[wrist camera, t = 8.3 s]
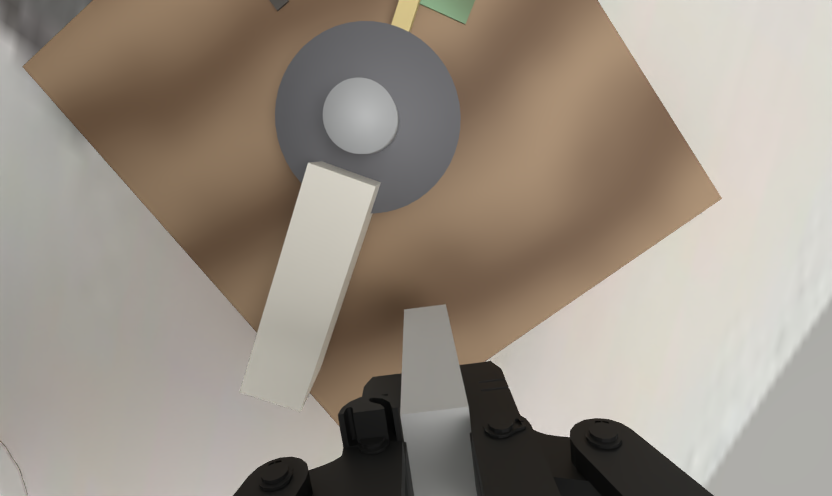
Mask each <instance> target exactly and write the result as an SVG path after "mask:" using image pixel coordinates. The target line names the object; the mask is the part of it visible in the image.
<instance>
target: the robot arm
mask: <svg viewBox="0 0 832 496" xmlns="http://www.w3.org/2000/svg"><path fill="white" fill-rule="evenodd" d="M338 420H339V425H340V431H341V436H342V442H343V447H344V448H343V453H342V456H341V457H339V458H338V459H336V460H334V461H333V462H330V463H328V464H326V465H323V466H320V467H317V468H314V469H312V470H309V471H308V466H307V463H305V462H304V461H303V460H302V459H300V458H295V457H283V458H278V459H275V460H272V461H269V462H267V463H265V464H264V465H262V466H260V467H258V468H257V469H256V470H255V471H254V472H253V473H252V474H251V475H249V476H248V478H247V479H246V480H245V481H244V483H243V484H242V485H241V486H240V488H239V489H238V490H237V491H236V493H235V494H234V495H233V496H713V495H712V494H711V493H710V492H708V491H707V490H706V489H705V488H703V487H702V486H701V485H700V484H699V483H697V482H696V481H695V480H694V479H692V478H691V477H690V476H689V475H687V474H686V473H685V472H684V471H682V470H681V469H680V468H679V467H677V466H676V465H675V464H674V463H673V462H671V461H670V460H669V459H668V458H666V457H665V456H664V455H663V454H661V453H660V452H659V451H658V450H656V449H655V448H654V447H653V446H651V445H650V444H649V443H648V442H647V441H645V440H644V439H643V438H642V437H640V436H639V435H638V434H637V433H635V432H634V431H633V430H632V429H630V428H628V427H627V426H625V425H623V424H622V423H619V422H616V421H612V420H609V419H598V418H595V419H588V420H583V421H581V422H579V423H577V424H575V425H574V427H573V428H572V429H571V430H570V437H560V436H552V435H546V434H543V433H540V432H537V431H535V430H533V429H532V426H531V424H530V423H529V422H528V421H527V419H526V418H524V417H522V416H520V414H519V412H518V409H517V407H516V404H515V402H514V399H513V397H512V394H511V392H510V389H509V388H508V385H507V382H506V380H505V377H504V375H503V372H502V370H501V368H499V367H498V366H497V365H495V364H494V363H492V362H491V361H488V362H480V363H472V364H463V365H459V361H458V357H457V352H456V348H455V343H454V339H453V335H452V330H451V326H450V321H449V317H448V312H447V308H446V304H444V305H436V306H428V307H420V308H412V309H404V327H403V354H402V373H400V374H392V375H384V376H375V377H372V378H371V379H370V380H369V381H368V382H367V384H366V385H365V386H364V388H363V393H362V397H359V398H357V399H355V400H352V401H350V402H348V403H347V404H346V405H345V406H343V407H342V408H341V410H340V411H339V413H338Z"/></svg>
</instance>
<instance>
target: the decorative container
mask: <svg viewBox="0 0 832 496" xmlns="http://www.w3.org/2000/svg"><path fill="white" fill-rule="evenodd" d="M0 496H27V491H26V488H25V485H24V482H23V479H22V476H21V473H20V469H19V468H18V466H17V465H16V463H15V461H14V460H13V458H12V457H11V455H10V454H9V452H8V450H7V449H6V447H5V446H4V445H3V444H2V443H1V442H0Z"/></svg>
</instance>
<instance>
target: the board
mask: <svg viewBox="0 0 832 496" xmlns="http://www.w3.org/2000/svg"><path fill="white" fill-rule="evenodd" d="M398 2H399V0H93V1H91V2H90V3H89V4H88V5H87V6H86V7H85V8H84V9H83V10H82V11H81V12H80V13H79V14H78V15H77V16H76V17H74V18H73V19H72V20H71V21H70V22H69V23H68V24H67V25H66V26H65V27H64V28H63V29H62V30H61V31H60V32H59V33H58V34H56V35H55V36H54V37H53V38H52V39H51V40H50V41H49V42H48V43H47V44H46V45H45V46H44V47H43V48H42V49H41V50H39V51H38V52H37V53H36V54H35V55H34V56H33V57H32V58H31V59H30V60H29V61H28V62H27V63H26V64H25V65H24V66H23V68H24V69H25V70H26V71H27V72H28V74H29V75H30V76H31V77H32V78H33V79H34V80H35V81H36V83H37V84H38V85H39V86H40V87H41V88H42V89H43V91H44V92H45V93H46V94H47V95H48V96H49V97H50V98H51V100H52V101H53V102H54V103H55V104H56V105H57V106H58V108H59V109H60V110H61V111H62V112H63V113H64V114H65V115H66V117H67V118H68V119H69V120H70V121H71V122H72V123H73V125H74V126H75V127H76V128H77V129H78V130H79V131H80V133H81V134H82V135H83V136H84V137H85V138H86V139H87V140H88V142H89V143H90V144H91V145H92V146H93V147H94V148H95V150H96V151H97V152H98V153H99V154H100V155H101V156H102V157H103V159H104V160H105V161H106V162H107V163H108V164H109V165H110V167H111V168H112V169H113V170H114V171H115V172H116V173H117V174H118V176H119V177H120V178H121V179H122V180H123V181H124V182H125V184H126V185H127V186H128V187H129V188H130V189H131V190H132V191H133V193H134V194H135V195H136V196H137V197H138V198H139V199H140V201H141V202H142V203H143V204H144V205H145V206H146V207H147V208H148V210H149V211H150V212H151V213H152V214H153V215H154V216H155V218H156V219H157V220H158V221H159V222H160V223H161V224H162V226H163V227H164V228H165V229H166V230H167V231H168V232H169V233H170V235H171V236H172V237H173V238H174V239H175V240H176V241H177V243H178V244H179V245H180V246H181V247H182V248H183V249H184V250H185V252H186V253H187V254H188V255H189V256H190V257H191V258H192V260H193V261H194V262H195V263H196V264H197V265H198V266H199V267H200V269H201V270H202V271H203V272H204V273H205V274H206V275H207V277H208V278H209V279H210V280H211V281H212V282H213V283H214V284H215V286H216V287H217V288H218V289H219V290H220V291H221V292H222V294H223V295H224V296H225V297H226V298H227V299H228V300H229V302H230V303H231V304H232V305H233V306H234V307H235V308H236V309H237V311H238V312H239V313H240V314H241V315H242V316H243V317H244V319H245V320H246V321H247V322H248V323H249V324H250V325H251V326H252V328H253V329H254V330H255V331H256V332H258V328H259V325H260V322H261V318H262V315H263V312H264V308H265V305H266V301H267V298H268V295H269V291H270V288H271V285H272V281H273V278H274V275H275V271H276V268H277V265H278V261H279V258H280V255H281V251H282V248H283V245H284V241H285V238H286V235H287V231H288V228H289V225H290V221H291V218H292V215H293V211H294V208H295V205H296V201H297V198H298V195H299V191H300V188H301V184H302V183H301V182H300V181H299V180H298V178H297V177H296V176H295V175H294V173H293V172H292V170H291V169H290V167H289V165H288V164H287V162H286V160H285V158H284V156H283V153H282V151H281V148H280V145H279V141H278V138H277V132H276V126H275V106H276V98H277V93H278V89H279V86H280V83H281V80H282V77H283V75H284V73H285V71H286V69H287V67H288V65H289V64H290V62H291V61H292V59H293V58H294V57H295V55H296V54H297V53H298V52H299V51H300V50H301V48H302V47H303V46H304V45H306V44H307V43H308V42H309V41H310V40H312V39H313V38H314V37H316V36H317V35H319V34H320V33H322V32H324V31H326V30H328V29H330V28H333V27H335V26H338V25H341V24H345V23H349V22H357V21H375V22H382V23H387V24H390V25H391V24H392V21H393V17H394V14H395V11H396V8H397V5H398ZM410 33H412V34H413V35H415V36H417V37H418V38H420V39H421V40H422V41H423V42H425V43H426V44H427V45H428V46H429V47H430V48H431V49H432V50H433V51H434V52H435V53H436V54H437V55H438V56H439V58H440V59H441V61H442V62H443V63H444V65H445V66H446V68H447V70H448V72H449V74H450V76H451V77H452V80H453V82H454V85H455V88H456V91H457V95H458V99H459V104H460V115H461V121H460V133H459V140H458V144H457V147H456V151H455V154H454V156H453V158H452V160H451V163H450V165H449V166H448V168H447V170H446V171H445V173H444V175H443V176H442V177H441V178H440V180H439V181H438V182H437V184H436V185H435V186H434V187H433V188H431V189H430V190H429V191H428V192H427V193H426V194H425V195H423V196H422V197H421V198H419V199H418V200H416V201H414V202H412V203H411V204H409V205H407V206H404V207H402V208H399V209H396V210H392V211H388V212H383V213H373V214H372V217H371V220H370V223H369V226H368V229H367V232H366V235H365V238H364V241H363V244H362V247H361V250H360V253H359V256H358V259H357V262H356V264H355V267H354V270H353V273H352V276H351V279H350V282H349V285H348V288H347V291H346V294H345V297H344V300H343V303H342V306H341V309H340V312H339V315H338V318H337V321H336V324H335V327H334V330H333V333H332V336H331V339H330V342H329V345H328V348H327V351H326V354H325V357H324V360H323V363H322V366H321V369H320V371H319V373H318V375H317V377H316V380H315V382H314V384H313V386H312V388H311V390H310V393H311V395H312V396H313V397H314V398H315V399H316V400H317V401H318V402H319V404H320V405H321V406H322V407H323V408H324V409H325V410H326V412H327V413H328V414H329V415H330V416H331V417H332V418H333V419H334V421H335V422H336V423H337V424H338V425H339V420H338V413H339V411H340V410H341V408H342V407H343V406H345V405H346V404H347V403H348V402H350V401H352V400H355V399H357V398H359V397H362V393H363V388H364V386H365V385H366V384H367V382H368V381H369V380H370V379H371V378H372V377H375V376H384V375H392V374H400V373H402V354H403V327H404V309H412V308H420V307H428V306H436V305H444V304H446V308H447V312H448V317H449V321H450V326H451V330H452V335H453V339H454V343H455V348H456V352H457V357H458V361H459V365H463V364H472V363H480V362H485V361H486V360H487V359H489V358H490V357H492V356H493V355H495V354H496V353H498V352H499V351H501V350H502V349H504V348H505V347H506V346H508V345H509V344H511V343H512V342H514V341H515V340H517V339H518V338H520V337H521V336H522V335H524V334H525V333H527V332H528V331H530V330H531V329H533V328H534V327H536V326H537V325H538V324H540V323H541V322H543V321H544V320H546V319H547V318H549V317H550V316H552V315H553V314H554V313H556V312H557V311H559V310H560V309H562V308H563V307H565V306H566V305H568V304H569V303H571V302H572V301H573V300H575V299H576V298H578V297H579V296H581V295H582V294H584V293H585V292H587V291H588V290H589V289H591V288H592V287H594V286H595V285H597V284H598V283H600V282H601V281H603V280H604V279H605V278H607V277H608V276H610V275H611V274H613V273H614V272H616V271H617V270H619V269H620V268H621V267H623V266H624V265H626V264H627V263H629V262H630V261H632V260H633V259H635V258H636V257H638V256H639V255H640V254H642V253H643V252H645V251H646V250H648V249H649V248H651V247H652V246H654V245H655V244H656V243H658V242H659V241H661V240H662V239H664V238H665V237H667V236H668V235H670V234H671V233H672V232H674V231H675V230H677V229H678V228H680V227H681V226H683V225H684V224H686V223H687V222H688V221H690V220H691V219H693V218H694V217H696V216H697V215H699V214H700V213H702V212H703V211H705V210H706V209H707V208H709V207H710V206H712V205H713V204H715V203H716V202H718V201H719V200H721V199H722V198H721V196H720V195H719V193H718V191H717V190H716V188H715V187H714V185H713V184H712V182H711V180H710V179H709V177H708V176H707V174H706V172H705V171H704V169H703V168H702V166H701V164H700V163H699V161H698V160H697V158H696V156H695V155H694V153H693V152H692V150H691V148H690V147H689V145H688V144H687V142H686V140H685V139H684V137H683V136H682V134H681V133H680V131H679V129H678V128H677V126H676V125H675V123H674V121H673V120H672V118H671V117H670V115H669V113H668V112H667V110H666V109H665V107H664V105H663V104H662V102H661V101H660V99H659V97H658V96H657V94H656V93H655V91H654V89H653V88H652V86H651V85H650V83H649V82H648V80H647V78H646V77H645V75H644V74H643V72H642V70H641V69H640V67H639V66H638V64H637V62H636V61H635V59H634V58H633V56H632V54H631V53H630V51H629V50H628V48H627V46H626V45H625V43H624V42H623V40H622V39H621V37H620V35H619V34H618V32H617V31H616V29H615V27H614V26H613V24H612V23H611V21H610V19H609V18H608V16H607V15H606V13H605V11H604V10H603V8H602V7H601V5H600V3H599V2H598V0H420V4H419V7H418V10H417V13H416V16H415V19H414V22H413V25H412V28H411V31H410ZM339 426H340V425H339Z"/></svg>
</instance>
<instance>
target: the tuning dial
mask: <svg viewBox="0 0 832 496" xmlns="http://www.w3.org/2000/svg"><path fill="white" fill-rule="evenodd" d="M419 4H420V0H399V2H398V5H397V8H396V11H395V14H394V17H393V21H392V24H391V25H390V24H387V23H382V22H375V21H357V22H349V23H345V24H341V25H338V26H335V27H333V28H330V29H328V30H326V31H324V32H322V33H320V34H319V35H317V36H316V37H314V38H313V39H312V40H310V41H309V42H308V43H307V44H306V45H304V46H303V47H302V48H301V50H300V51H299V52H298V53H297V54H296V55H295V57H294V58H293V59H292V61H291V62H290V64H289V65H288V67H287V69H286V71H285V73H284V75H283V77H282V80H281V83H280V86H279V89H278V93H277V98H276V106H275V126H276V132H277V138H278V141H279V145H280V148H281V151H282V153H283V156H284V158H285V160H286V162H287V164H288V165H289V167H290V169H291V170H292V172H293V173H294V175H295V176H296V177H297V178H298V180H299V181H300V182H301V183H302V184H301V188H300V191H299V195H298V198H297V201H296V205H295V208H294V211H293V215H292V218H291V221H290V225H289V228H288V231H287V235H286V238H285V241H284V245H283V248H282V251H281V255H280V258H279V261H278V265H277V268H276V271H275V275H274V278H273V281H272V285H271V288H270V291H269V295H268V298H267V301H266V305H265V308H264V312H263V315H262V318H261V322H260V325H259V328H258V332H257V335H256V338H255V342H254V345H253V348H252V352H251V355H250V358H249V362H248V365H247V368H246V372H245V375H244V378H243V382H242V385H241V388H240V392H239V393H242V394H245V395H248V396H251V397H254V398H258V399H261V400H264V401H267V402H270V403H273V404H276V405H280V406H283V407H286V408H289V409H292V410H295V411H298V412H301V410H302V408H303V406H304V404H305V401H306V399H307V397H308V395H309V393H310V390H311V388H312V386H313V384H314V382H315V380H316V377H317V375H318V373H319V371H320V369H321V366H322V363H323V360H324V357H325V354H326V351H327V348H328V345H329V342H330V339H331V336H332V333H333V330H334V327H335V324H336V321H337V318H338V315H339V312H340V309H341V306H342V303H343V300H344V297H345V294H346V291H347V288H348V285H349V282H350V279H351V276H352V273H353V270H354V267H355V264H356V262H357V259H358V256H359V253H360V250H361V247H362V244H363V241H364V238H365V235H366V232H367V229H368V226H369V223H370V220H371V217H372V214H373V213H383V212H388V211H392V210H396V209H399V208H402V207H404V206H407V205H409V204H411V203H412V202H414V201H416V200H418V199H419V198H421V197H422V196H423V195H425V194H426V193H427V192H428V191H429V190H430V189H431V188H433V187H434V186H435V185H436V184H437V182H438V181H439V180H440V178H441V177H442V176H443V175H444V173H445V171H446V170H447V168H448V166H449V165H450V163H451V160H452V158H453V156H454V154H455V151H456V147H457V144H458V140H459V133H460V121H461V115H460V104H459V99H458V95H457V91H456V88H455V85H454V82H453V80H452V77H451V76H450V74H449V72H448V70H447V68H446V66H445V65H444V63H443V62H442V61H441V59H440V58H439V56H438V55H437V54H436V53H435V52H434V51H433V50H432V49H431V48H430V47H429V46H428V45H427V44H426V43H425V42H423V41H422V40H421V39H420V38H418V37H417V36H415V35H413V34H412V33H410V31H411V28H412V25H413V22H414V19H415V16H416V13H417V10H418V7H419Z"/></svg>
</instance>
